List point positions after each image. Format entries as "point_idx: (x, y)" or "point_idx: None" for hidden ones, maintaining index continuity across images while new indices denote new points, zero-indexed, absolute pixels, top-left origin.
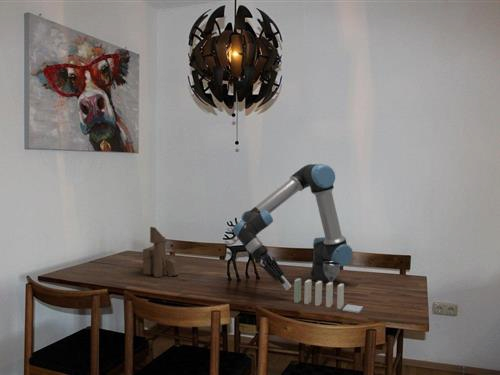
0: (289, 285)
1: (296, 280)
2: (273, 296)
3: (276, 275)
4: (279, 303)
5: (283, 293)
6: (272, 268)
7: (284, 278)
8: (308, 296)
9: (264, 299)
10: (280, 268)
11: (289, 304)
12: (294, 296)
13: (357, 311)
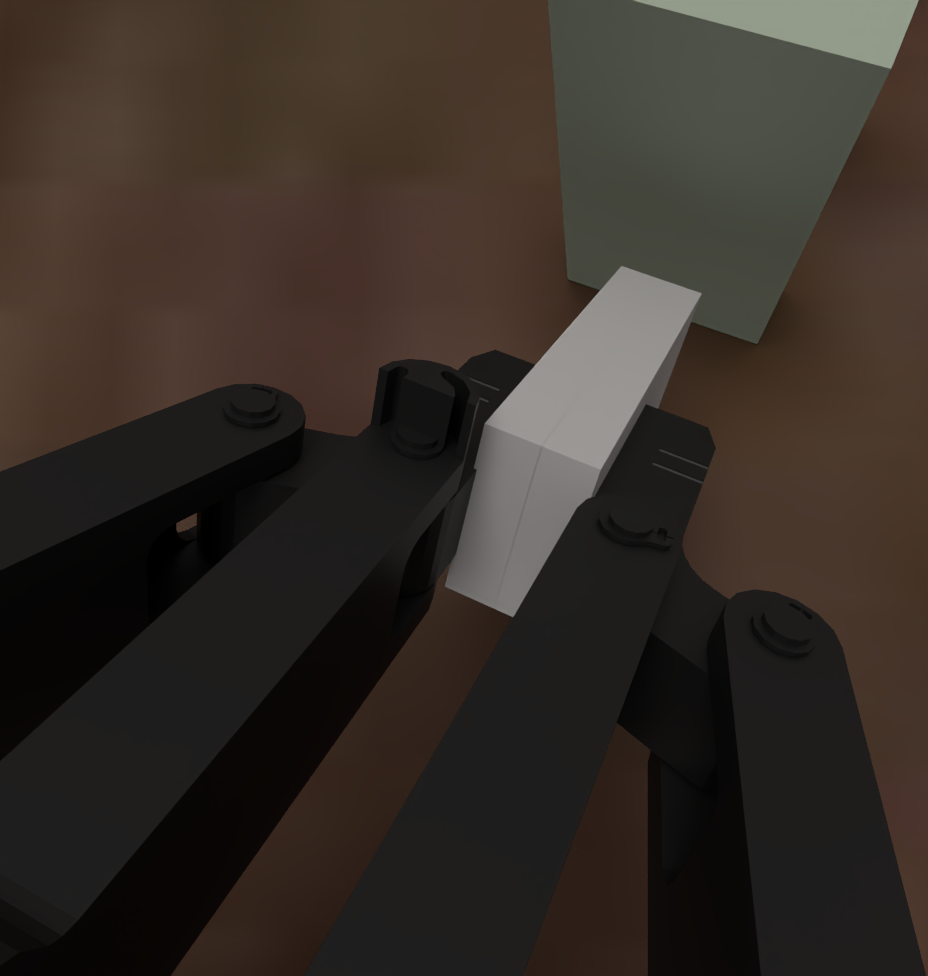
0: (688, 308)
1: (868, 4)
2: (399, 727)
3: (832, 683)
4: (880, 616)
5: (191, 527)
6: (524, 952)
7: (583, 389)
8: None
9: (632, 931)
10: (47, 468)
11: (915, 424)
12: (781, 288)
13: None
